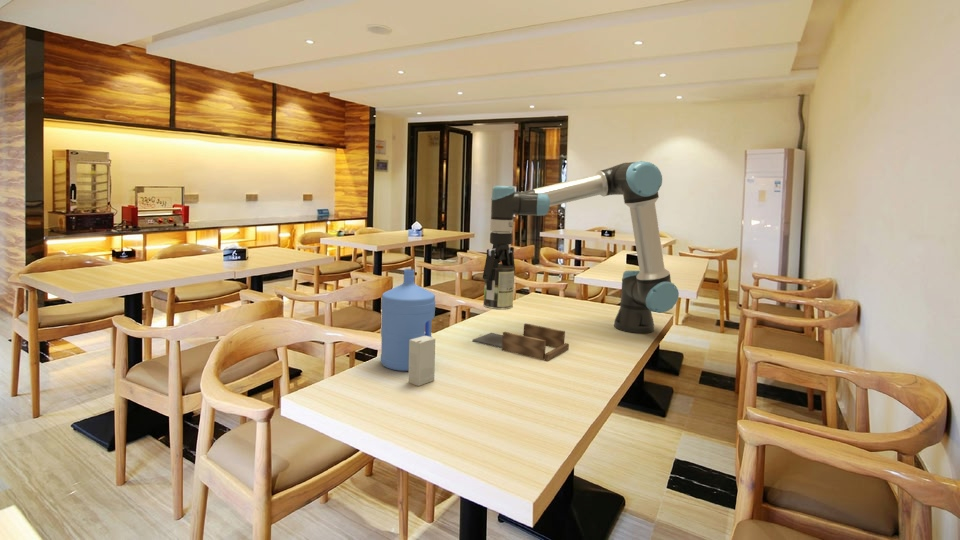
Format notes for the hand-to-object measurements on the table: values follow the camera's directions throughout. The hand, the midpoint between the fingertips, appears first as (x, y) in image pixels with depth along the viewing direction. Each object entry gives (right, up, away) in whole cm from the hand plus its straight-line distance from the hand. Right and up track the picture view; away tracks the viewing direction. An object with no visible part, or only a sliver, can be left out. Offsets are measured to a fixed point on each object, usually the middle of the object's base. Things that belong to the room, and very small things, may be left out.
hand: (498, 297), depth 179 cm
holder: (+12, -17, -6) cm, 22 cm away
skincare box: (-22, -21, -38) cm, 49 cm away
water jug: (-28, -19, -24) cm, 41 cm away
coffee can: (0, -3, +1) cm, 4 cm away
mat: (-1, -15, +2) cm, 16 cm away
